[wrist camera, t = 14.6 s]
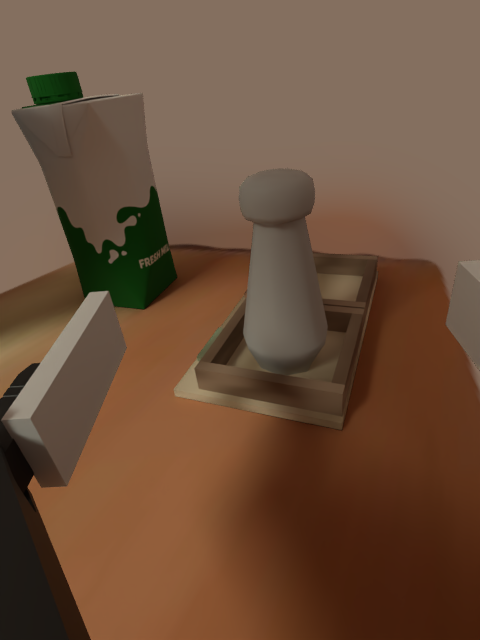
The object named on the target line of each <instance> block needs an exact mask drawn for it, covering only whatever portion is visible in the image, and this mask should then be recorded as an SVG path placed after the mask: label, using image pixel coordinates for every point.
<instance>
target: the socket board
mask: <svg viewBox="0 0 480 640" xmlns="http://www.w3.org/2000/svg"><path fill="white" fill-rule="evenodd" d="M313 258H314V263H315V268H316V273H317V277H318V282H319V287H320V292H321V297H322V301H323V306H324V311H325V316H326V320H327V325H328V328H327V335H326V341H325V344H324V346H323V347H322V349H321V350H320V352H319V353H318V355H317V356H316V358H315V359H314V361H313V362H312V364H311V365H310V367H309V369H308V371H306V372H302V373H297V374H293V375H282V374H276V373H272V372H269V371H267V370H265V369H262V368H261V367H260V366H259V364H258V363H257V361H256V360H255V358H254V357H253V355H252V354H251V352H250V351H249V349H248V346H247V343H246V341H245V338H244V334H243V329H244V319H245V309H246V298H247V290H246V292H245V293H244V296H243V297H242V299H241V300H240V301H239V303H238V304H237V305H236V307H235V308H234V309H233V311H232V312H231V313H230V315H229V316H228V317H227V319H226V320H225V321H224V323H223V324H222V325H221V327H220V328H218V329H217V330H216V332H215V333H214V334H213V336H212V337H211V338H210V340H209V341H208V342H207V344H206V345H205V346H204V348H203V349H202V350H201V352H200V353H199V354H198V356H197V359H196V360H195V362H194V363H193V364H192V366H191V367H190V368H189V370H188V371H187V372H186V374H185V375H184V376H183V378H182V379H181V380H180V382H179V383H178V384H177V386H176V387H175V388H174V393H175V396H178V397H183V398H188V399H192V400H197V401H202V402H207V403H212V404H217V405H222V406H226V407H231V408H236V409H241V410H246V411H251V412H256V413H261V414H265V415H270V416H275V417H280V418H285V419H290V420H295V421H300V422H304V423H309V424H314V425H319V426H324V427H329V428H334V429H338V430H342V428H343V424H344V419H345V415H346V411H347V407H348V402H349V398H350V394H351V389H352V385H353V381H354V377H355V372H356V368H357V364H358V359H359V355H360V351H361V347H362V342H363V338H364V334H365V329H366V325H367V321H368V317H369V312H370V308H371V304H372V299H373V295H374V291H375V287H376V282H377V278H378V271H377V261H378V256H364V255H343V254H322V253H313Z"/></svg>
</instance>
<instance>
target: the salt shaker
mask: <svg viewBox="0 0 480 640" xmlns="http://www.w3.org/2000/svg"><path fill="white" fill-rule="evenodd" d="M314 200H315V188H314V183H313V179H312V178H311V177H310V176H309V175H308V174H307V173H305V172H303V171H300V170H294V169H273V170H266V171H262V172H258V173H256V174H253V175H251V176H248V177H247V178H246V179H245V180H244V182H243V183H242V184H241V186H240V188H239V203H240V209H241V212H242V214H243V216H244V217H245V219H246V220H248V221H252V222H254V226H253V237H252V247H251V257H250V267H249V278H248V288H247V298H246V309H245V319H244V329H243V334H244V338H245V341H246V343H247V346H248V349H249V351H250V352H251V354H252V355H253V357H254V358H255V360H256V361H257V363H258V364H259V366H260V367H261V368H262V369H265V370H267V371H269V372H272V373H276V374H282V375H293V374H297V373H302V372H306V371H308V369H309V367H310V365H311V364H312V362H313V361H314V359H315V358H316V356H317V355H318V353H319V352H320V350H321V349H322V347H323V346H324V344H325V341H326V335H327V328H328V325H327V320H326V316H325V311H324V306H323V301H322V297H321V292H320V287H319V282H318V277H317V273H316V268H315V263H314V258H313V253H312V249H311V244H310V239H309V234H308V230H307V225H306V220H305V216H307V215H309V214H310V213H311V211H312V208H313V205H314Z"/></svg>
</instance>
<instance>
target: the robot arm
mask: <svg viewBox="0 0 480 640" xmlns="http://www.w3.org/2000/svg"><path fill="white" fill-rule="evenodd" d="M446 326H447V327H448V329H449V330H450V331H451V333H452V334H453V335H454V337H455V338H456V339H457V341H458V342H459V343H460V345H461V346H462V348H463V349H464V350H465V352H466V353H467V354H468V356H469V357H470V358H471V360H472V361H473V362H474V364H475V365H476V366H477V368H478V369H479V371H480V260H473V261H472V260H471V261H459V262H458V266H457V271H456V275H455V280H454V285H453V290H452V295H451V300H450V305H449V310H448V315H447V320H446ZM126 348H127V347H126V344H125V341H124V337H123V334H122V331H121V328H120V325H119V322H118V319H117V315H116V312H115V309H114V306H113V303H112V300H111V297H110V293H109V291H101V292H90V293H89V294H88V295H87V297H86V298H85V300H84V301H83V303H82V304H81V306H80V307H79V308H78V310H77V311H76V313H75V314H74V316H73V317H72V319H71V320H70V321H69V323H68V324H67V326H66V327H65V329H64V330H63V331H62V333H61V334H60V336H59V337H58V339H57V340H56V342H55V343H54V344H53V346H52V347H51V349H50V350H49V352H48V353H47V355H46V356H45V357H44V359H43V360H42V362H41V363H34V364H31V365H30V366H28V367H27V368H26V369H25V370H23V371H22V372H21V373H20V374H18V376H17V377H16V378H15V380H14V381H13V383H12V384H11V385H10V388H8V389H7V391H6V392H5V393H4V395H3V398H1V399H0V640H91V639H90V636H89V634H88V632H87V629H86V627H85V624H84V622H83V619H82V617H81V614H80V612H79V609H78V607H77V605H76V602H75V600H74V597H73V595H72V592H71V590H70V587H69V585H68V582H67V580H66V577H65V575H64V573H63V570H62V568H61V565H60V563H59V560H58V558H57V555H56V553H55V550H54V548H53V546H52V543H51V541H50V538H49V536H48V533H47V531H46V528H45V526H44V523H43V521H42V518H41V516H40V514H39V511H38V509H37V506H36V504H35V501H34V499H33V496H32V494H31V492H30V491H29V489H28V487H27V486H28V485H29V483H30V481H31V479H32V477H33V475H34V476H35V478H36V479H37V481H38V483H39V484H40V486H41V488H42V487H63V486H67V485H68V483H69V480H70V478H71V476H72V474H73V471H74V469H75V467H76V464H77V462H78V460H79V457H80V455H81V453H82V450H83V448H84V446H85V443H86V441H87V439H88V436H89V434H90V432H91V429H92V427H93V425H94V422H95V420H96V418H97V416H98V413H99V411H100V409H101V406H102V404H103V402H104V399H105V397H106V395H107V392H108V390H109V388H110V385H111V383H112V381H113V378H114V376H115V374H116V371H117V369H118V367H119V365H120V362H121V360H122V358H123V355H124V353H125V351H126Z"/></svg>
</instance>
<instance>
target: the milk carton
mask: <svg viewBox="0 0 480 640" xmlns="http://www.w3.org/2000/svg"><path fill="white" fill-rule="evenodd" d="M26 80H27V83H28V86H29V89H30V92H31V95H32V98H33V101H34V104H36V105H33V106H27V107H22V109H17V110H12V115H13V116H14V118H15V120H16V122H17V124H18V125H19V127H20V129H21V130H22V132H23V134H24V135H25V138H26V140H27V141H28V143H29V145H30V147H31V149H32V150H33V152H34V154H35V156H36V158H37V159H38V161H39V164H40V166H41V168H42V171H43V173H44V176H45V179H46V182H47V184H48V187H49V190H50V193H51V196H52V198H53V201H54V204H55V207H56V210H57V213H58V215H59V218H60V221H61V224H62V226H63V230H64V232H65V235H66V238H67V241H68V244H69V246H70V249H71V252H72V255H73V258H74V261H75V265H76V268H77V272H78V276H79V279H80V283H81V286H82V290H83V294H84V297H85V298H86V297H87V295H88V294H89V293H90V292H101V291H109V293H110V297H111V300H112V303H113V306H117V307H127V308H137V309H145V308H146V307H147V306H148V305H149V304H150V303H151V302H152V301H153V300H154V299H155V298H156V297H157V296H159V295H160V294H161V293H162V292H163V291H164V290H165V289H166V288H167V287H168V286H169V285H170V284H171V283H172V282H173V281H174V280H175V279H176V278H177V274H176V270H175V267H174V263H173V259H172V255H171V251H170V248H169V244H168V240H167V236H166V231H165V226H164V222H163V217H162V213H161V208H160V203H159V198H158V194H157V189H156V185H155V180H154V175H153V170H152V166H151V161H150V156H149V151H148V145H147V137H146V126H145V115H144V102H143V93H140V94H130V95H122V96H119V94H111V95H99V96H91V97H86V98H83V94H82V90H81V86H80V83H79V79H78V76H77V73H76V72H64V73H55V74H46V75H39V76H32V77H27V78H26Z"/></svg>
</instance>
